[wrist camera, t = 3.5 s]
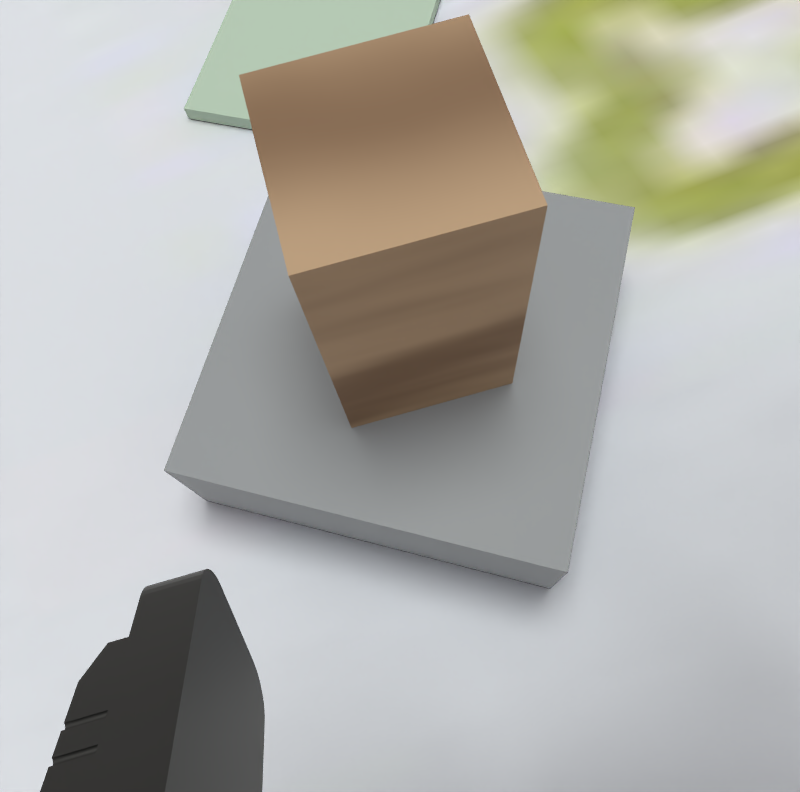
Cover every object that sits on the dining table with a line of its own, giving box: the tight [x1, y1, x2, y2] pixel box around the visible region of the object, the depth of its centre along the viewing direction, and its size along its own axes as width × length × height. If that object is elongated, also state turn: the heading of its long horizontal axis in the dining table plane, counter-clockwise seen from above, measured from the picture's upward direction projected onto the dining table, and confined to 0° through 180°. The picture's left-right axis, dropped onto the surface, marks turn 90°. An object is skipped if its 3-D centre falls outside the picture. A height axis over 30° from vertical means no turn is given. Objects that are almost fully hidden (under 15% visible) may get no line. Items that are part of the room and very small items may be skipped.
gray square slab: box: [164, 191, 635, 588], centre depth 25 cm, size 12×12×4 cm
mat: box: [184, 0, 440, 129], centre depth 32 cm, size 9×9×1 cm
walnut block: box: [239, 15, 548, 428], centre depth 19 cm, size 5×5×9 cm
